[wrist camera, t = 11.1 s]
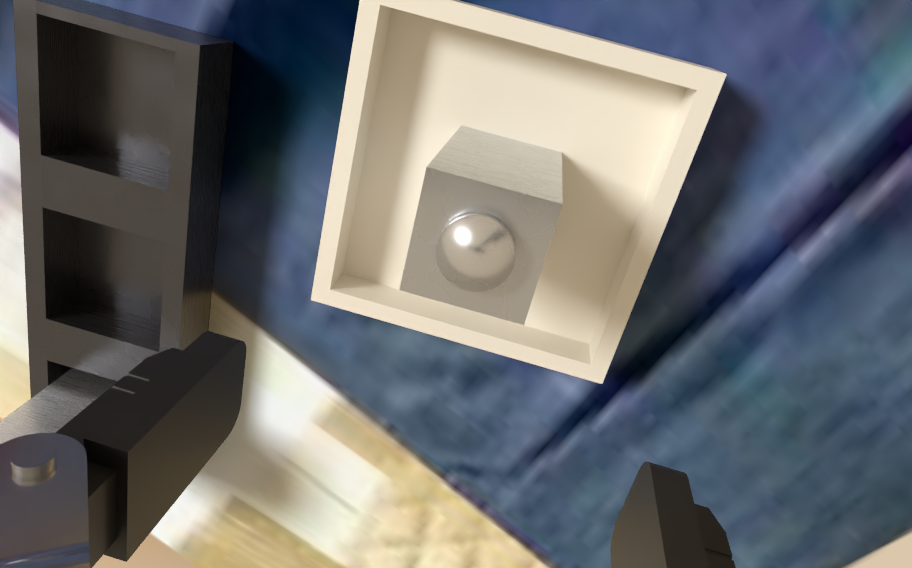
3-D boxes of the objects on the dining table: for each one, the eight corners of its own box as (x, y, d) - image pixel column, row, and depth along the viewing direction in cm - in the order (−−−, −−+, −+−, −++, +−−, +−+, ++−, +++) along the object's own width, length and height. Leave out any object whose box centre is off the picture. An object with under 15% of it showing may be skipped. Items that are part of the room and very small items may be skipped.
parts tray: (711, 68, 26) (726, 73, 24) (599, 356, 32) (602, 384, 30) (381, -21, 27) (363, -24, 24) (328, 278, 33) (310, 299, 30)
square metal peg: (169, 375, 36) (59, 478, 28) (165, 439, 38) (61, 552, 30) (92, 353, 36) (-38, 449, 28) (92, 417, 38) (-30, 524, 30)
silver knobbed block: (561, 152, 28) (562, 209, 20) (532, 247, 30) (522, 333, 22) (461, 125, 28) (422, 171, 20) (438, 221, 30) (395, 297, 22)
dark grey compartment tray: (234, 41, 29) (199, 45, 26) (196, 458, 39) (168, 493, 36) (64, -5, 29) (13, -7, 26) (70, 420, 39) (33, 452, 36)
